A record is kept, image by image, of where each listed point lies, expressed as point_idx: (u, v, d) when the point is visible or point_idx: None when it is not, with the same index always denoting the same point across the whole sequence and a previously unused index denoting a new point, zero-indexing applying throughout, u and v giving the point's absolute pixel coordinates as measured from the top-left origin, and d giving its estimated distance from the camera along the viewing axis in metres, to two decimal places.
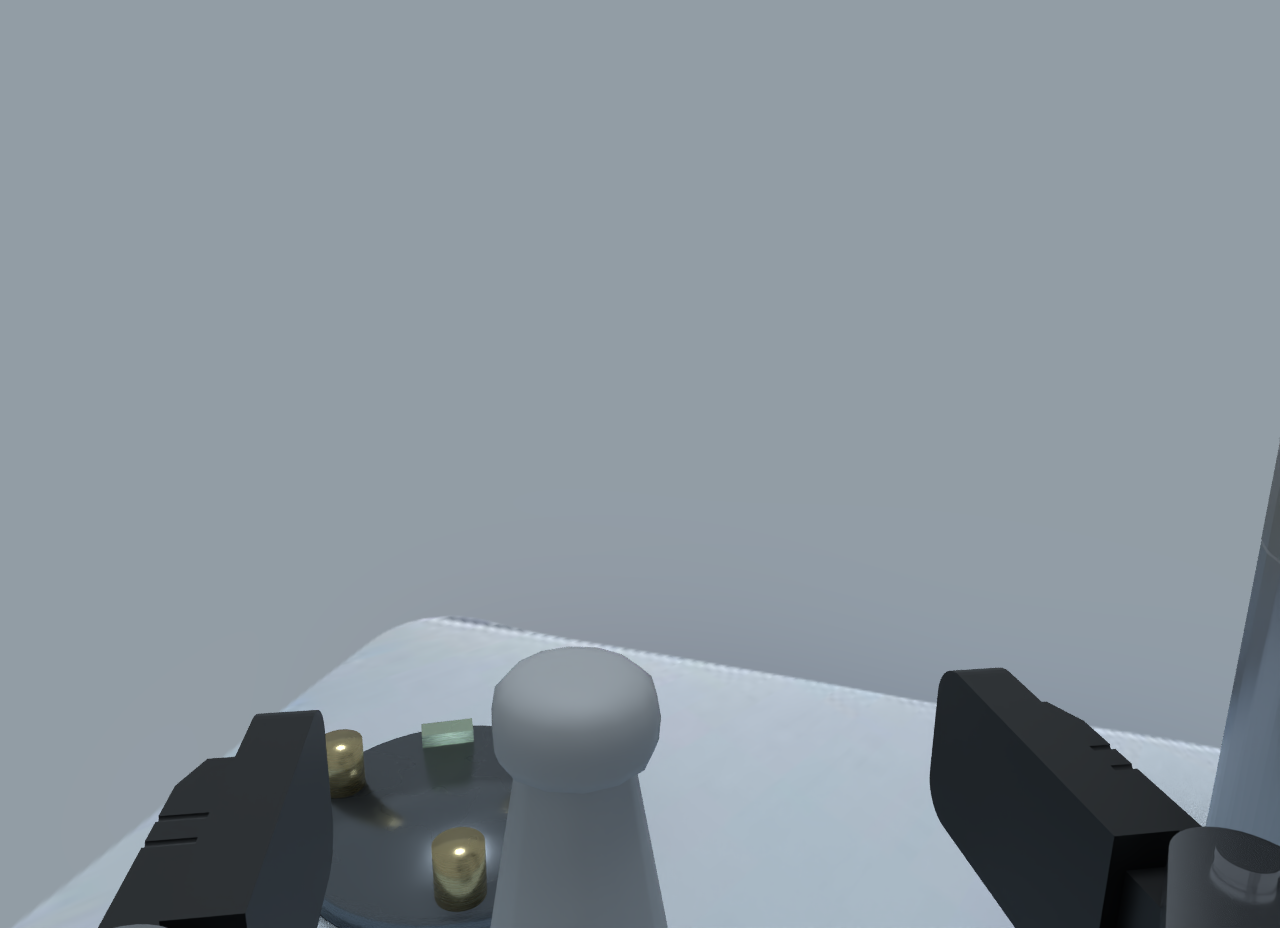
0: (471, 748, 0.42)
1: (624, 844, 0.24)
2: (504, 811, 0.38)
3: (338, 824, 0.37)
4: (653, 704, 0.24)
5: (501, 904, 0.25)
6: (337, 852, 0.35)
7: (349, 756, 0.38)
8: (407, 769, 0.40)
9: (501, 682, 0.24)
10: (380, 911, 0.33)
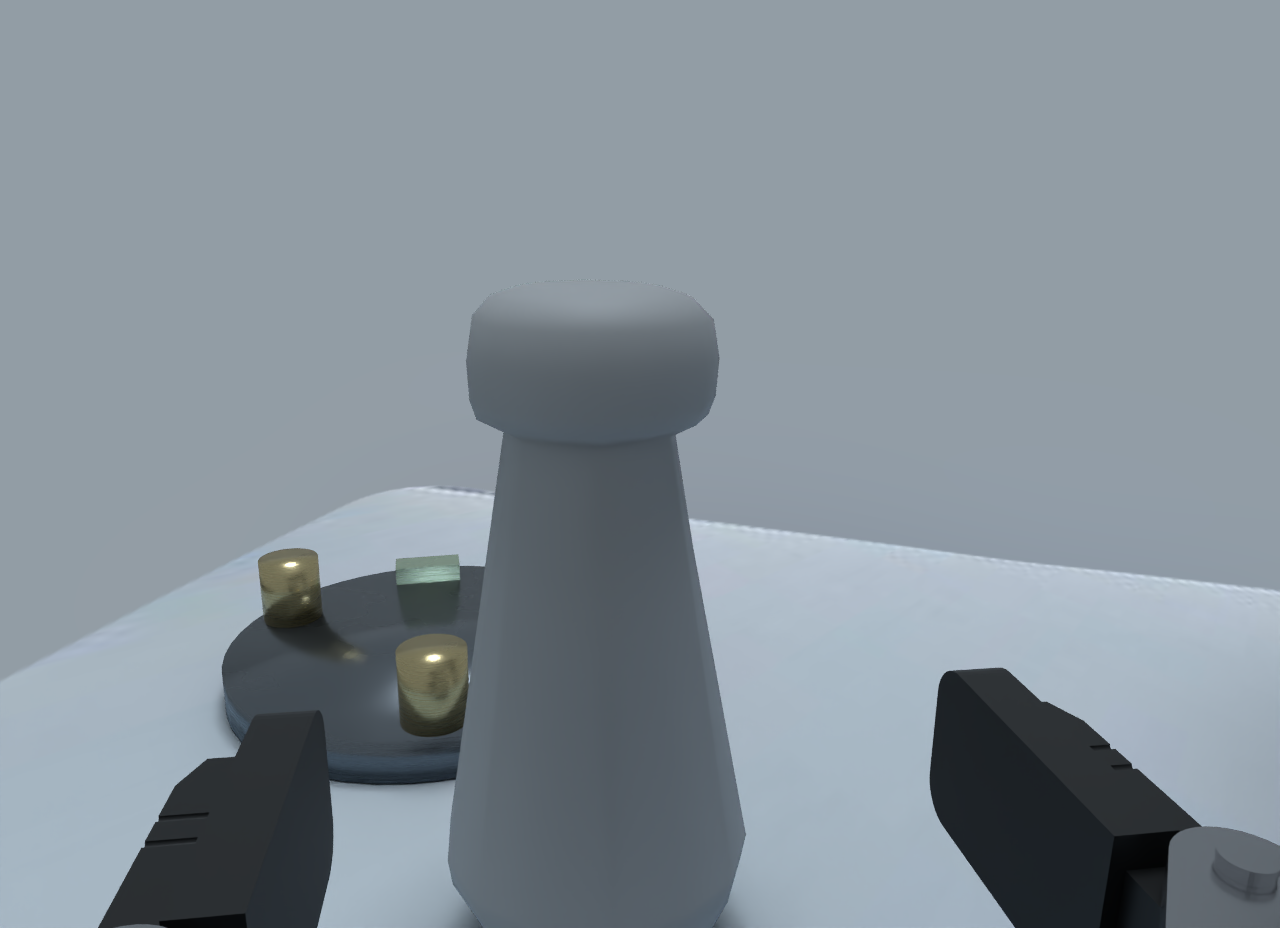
0: (456, 585, 0.34)
1: (664, 546, 0.16)
2: None
3: (283, 652, 0.29)
4: (709, 328, 0.16)
5: (480, 650, 0.17)
6: (277, 678, 0.27)
7: (300, 573, 0.30)
8: (376, 603, 0.32)
9: (481, 304, 0.16)
10: (327, 736, 0.24)
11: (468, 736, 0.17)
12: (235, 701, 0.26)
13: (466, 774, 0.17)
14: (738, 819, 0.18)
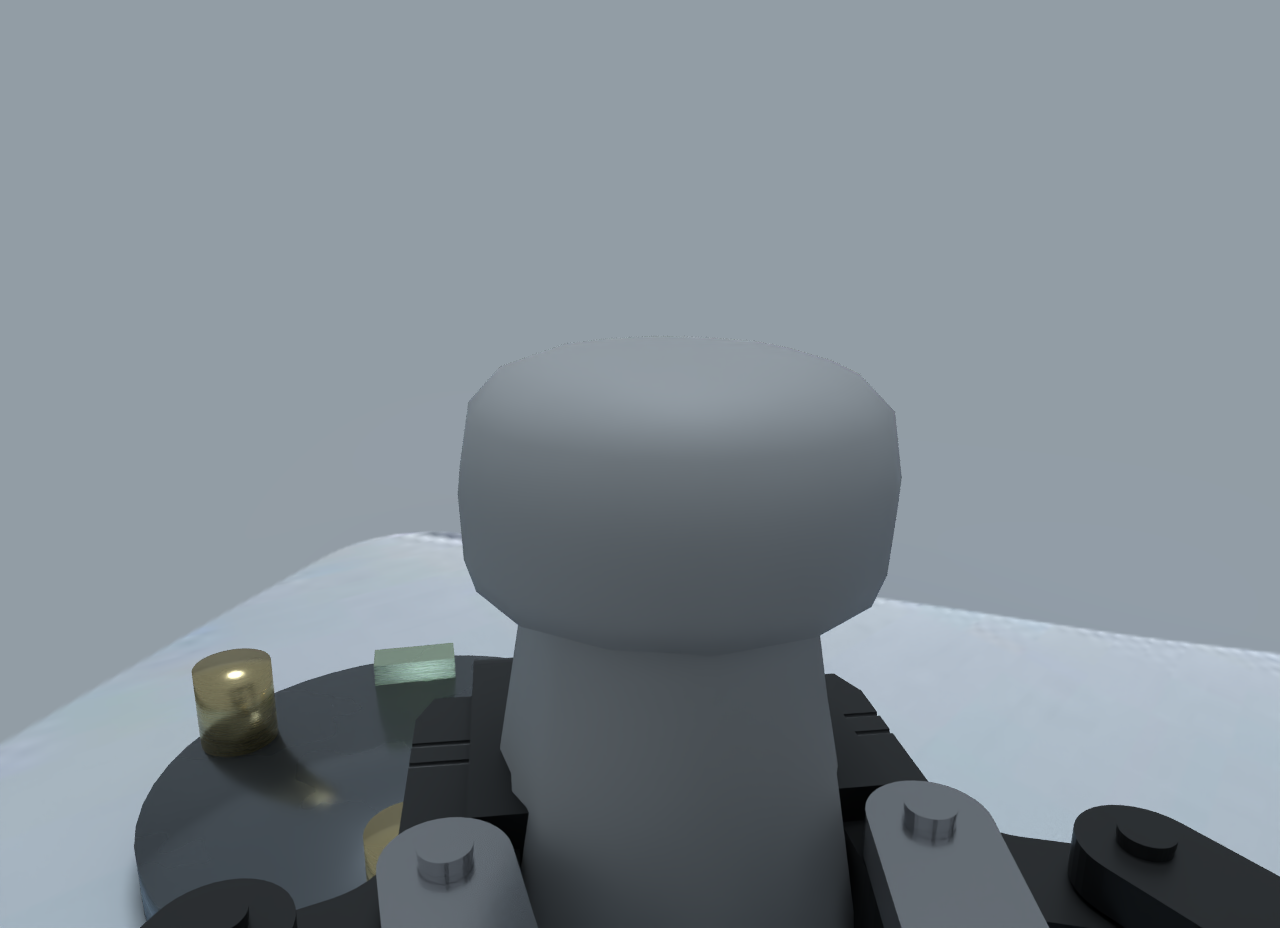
0: (451, 686, 0.27)
1: (808, 811, 0.09)
2: None
3: (220, 798, 0.22)
4: (893, 430, 0.09)
5: None
6: (208, 845, 0.20)
7: (246, 688, 0.23)
8: (348, 715, 0.25)
9: (484, 385, 0.09)
10: None
11: None
12: (146, 888, 0.19)
13: None
14: None
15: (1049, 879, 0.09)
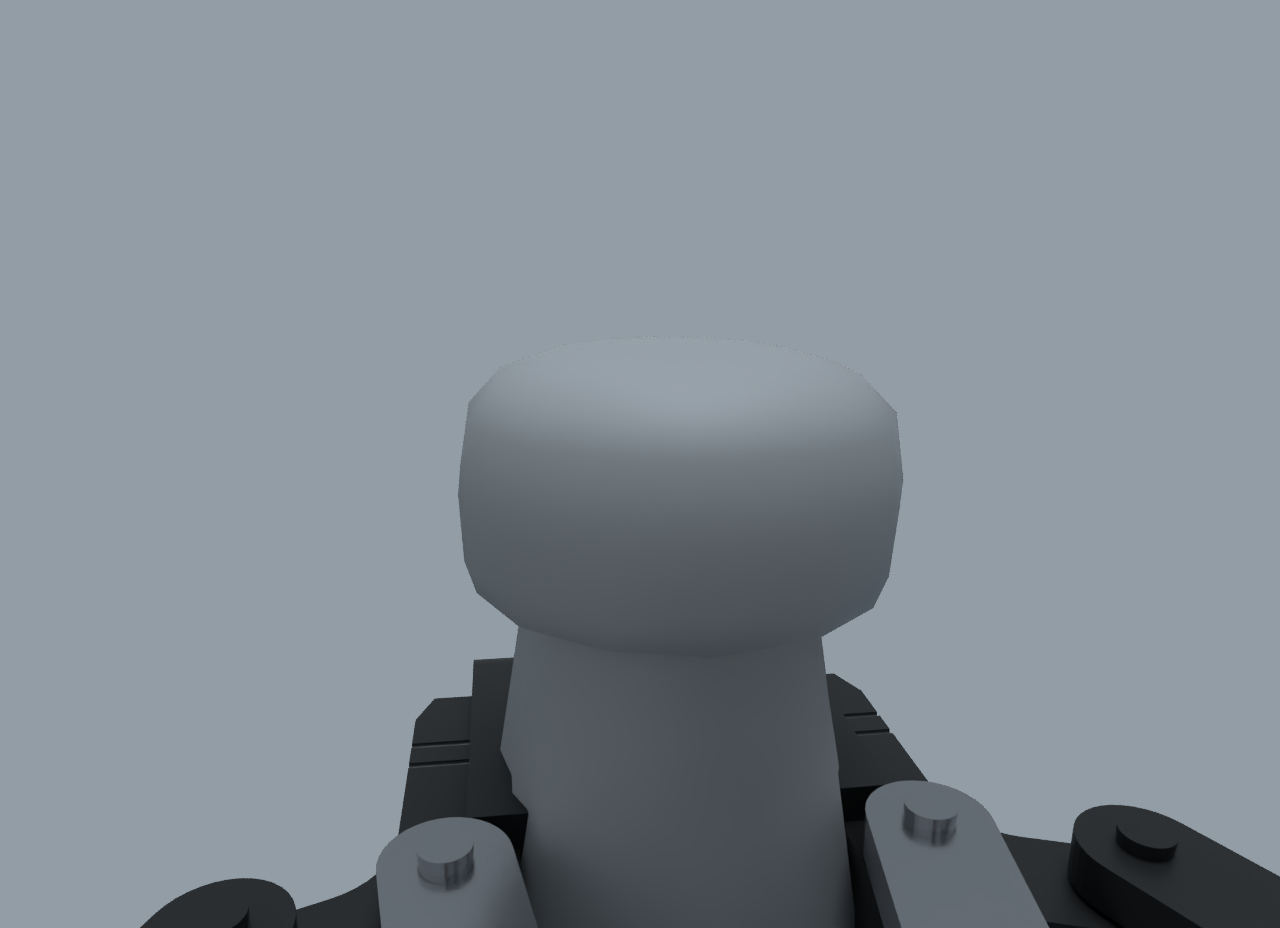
0: None
1: (809, 813, 0.09)
2: None
3: None
4: (895, 431, 0.09)
5: None
6: None
7: None
8: None
9: (485, 385, 0.09)
10: None
11: None
12: None
13: None
14: None
15: (1049, 879, 0.09)
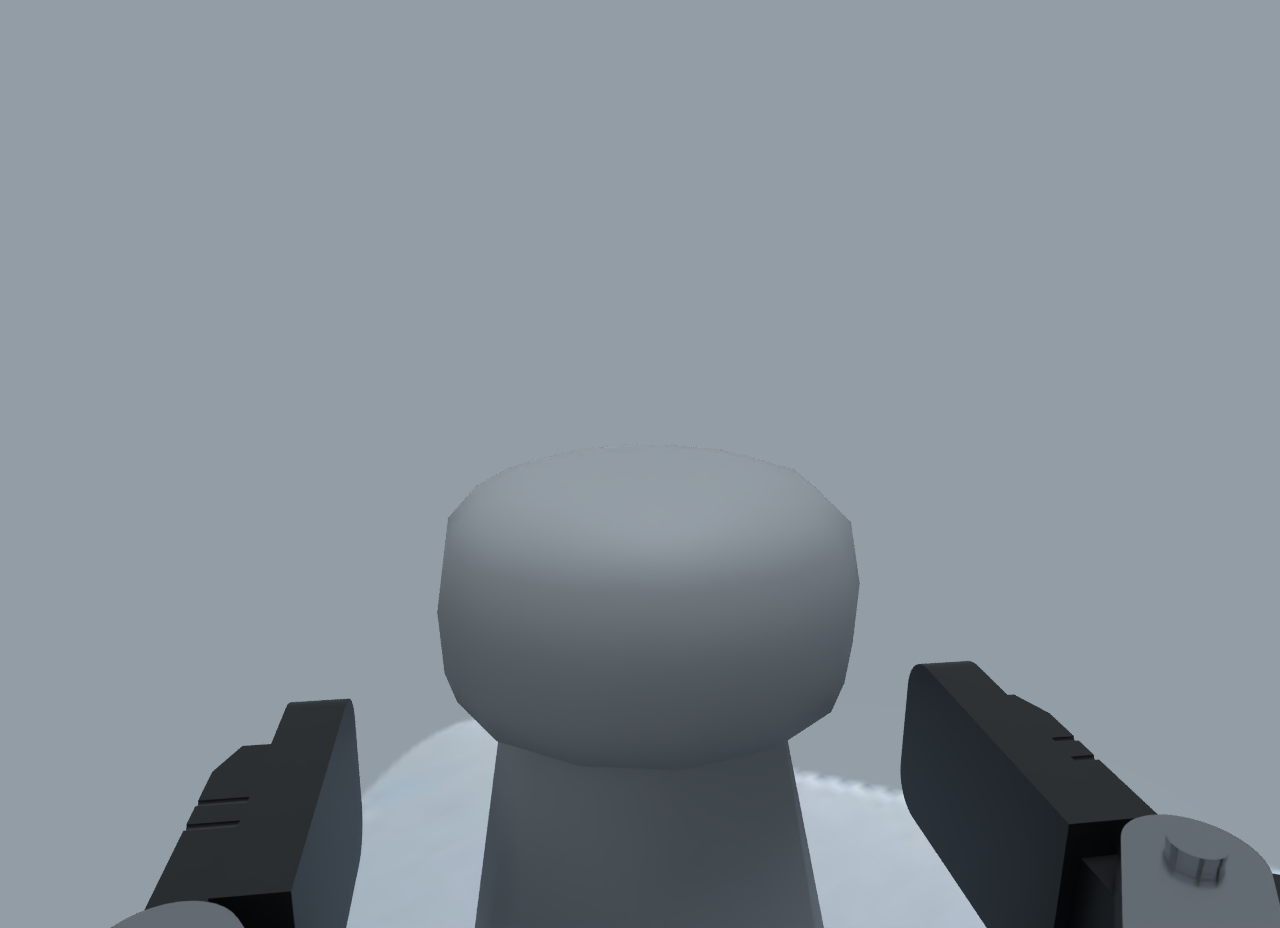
0: None
1: (777, 906, 0.10)
2: None
3: None
4: (849, 542, 0.09)
5: None
6: None
7: None
8: None
9: (463, 503, 0.10)
10: None
11: None
12: None
13: None
14: None
15: None
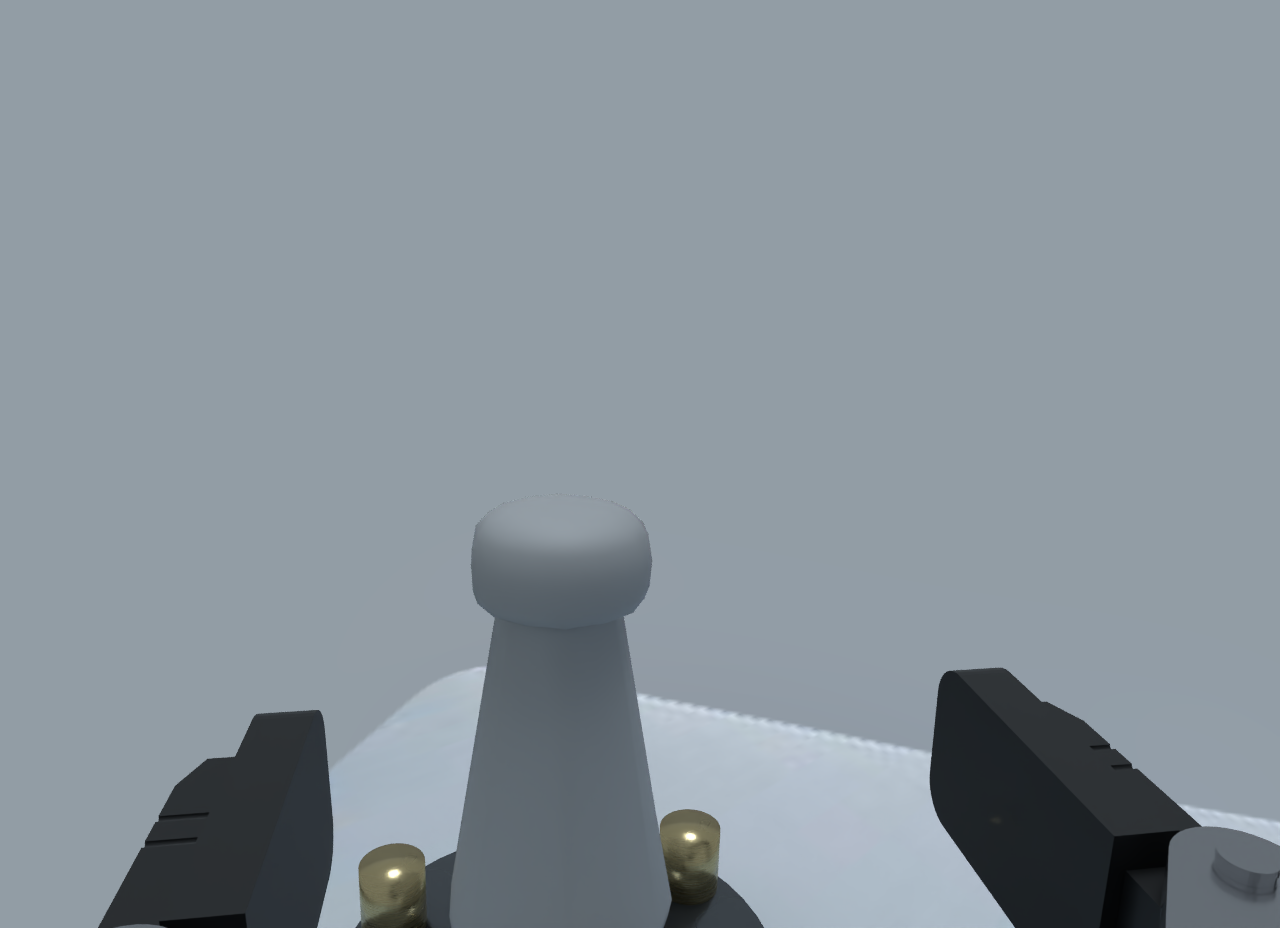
0: None
1: (609, 695, 0.23)
2: None
3: None
4: (644, 542, 0.22)
5: (477, 764, 0.24)
6: None
7: (408, 888, 0.26)
8: None
9: (482, 519, 0.23)
10: None
11: (466, 826, 0.24)
12: None
13: (464, 854, 0.24)
14: (665, 888, 0.25)
15: None
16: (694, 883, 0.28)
